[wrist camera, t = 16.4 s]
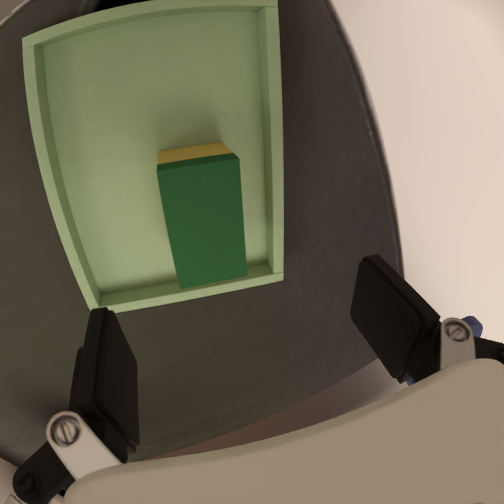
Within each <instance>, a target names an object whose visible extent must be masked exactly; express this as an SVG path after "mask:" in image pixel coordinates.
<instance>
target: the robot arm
mask: <svg viewBox="0 0 504 504" xmlns="http://www.w3.org/2000/svg"><path fill="white" fill-rule="evenodd" d="M350 316H351V319H352V321H353V322H354V324H355V325H356V326H357V328H358V329H359V331H360V332H361V333H362V335H363V336H364V338H365V339H366V340H367V342H368V343H369V345H370V346H371V348H372V349H373V350H374V352H375V353H376V355H377V356H378V358H379V359H380V360H381V362H382V363H383V365H384V366H385V368H386V369H387V370H388V372H389V373H390V375H391V376H392V377H393V378H396V379H397V380H398V382H399V383H400V384H401V383H403V382H405V381H407V380H409V379H410V378H412V379H413V381H414V384H413V385H411V386H408V387H406V388H404V389H402V390H400V391H398V392H396V393H394V394H392V395H389V396H387V397H385V398H383V399H381V400H378V401H376V402H374V403H371V404H369V405H366V406H364V407H361V408H359V409H357V410H354V411H351V412H349V413H346V414H344V415H341V416H338V417H336V418H333V419H330V420H327V421H324V422H321V423H318V424H315V425H312V426H310V427H306V428H303V429H300V430H297V431H293V432H290V433H286V434H283V435H280V436H276V437H272V438H269V439H264V440H261V441H257V442H252V443H248V444H244V445H239V446H235V447H230V448H226V449H220V450H215V451H209V452H203V453H198V454H191V455H185V456H179V457H171V458H163V459H154V460H148V461H139V462H131V463H127V462H126V461H127V460H128V455H127V454H129V453H136V445H139V444H140V437H139V420H138V391H137V362H136V359H135V357H134V355H133V353H132V351H131V349H130V346H129V344H128V342H127V340H126V338H125V336H124V334H123V331H122V329H121V327H120V325H119V322H118V320H117V318H116V315H115V313H114V311H113V310H109V309H108V308H107V307H102V308H95V309H92V310H91V312H90V317H89V321H88V326H87V331H86V336H85V341H84V346H83V347H80V348H79V349H78V352H77V357H76V362H75V368H74V374H73V380H72V387H71V394H70V402H69V410H68V411H62V412H59V413H57V414H55V415H54V416H53V417H52V418H51V419H50V421H49V423H48V424H47V428H46V436H47V439H48V441H47V442H46V443H45V444H44V445H43V446H42V447H41V448H40V449H38V450H37V451H36V452H35V453H34V454H33V455H32V456H31V457H30V458H29V459H28V460H27V461H26V462H25V463H24V464H22V465H21V466H20V467H19V468H18V469H17V471H16V472H15V474H14V477H13V489H14V491H15V492H14V495H9V496H8V499H7V500H6V502H5V504H504V344H503V343H499V342H495V341H491V340H487V339H483V338H480V337H476V336H473V331H472V329H471V327H470V326H469V325H468V324H467V323H466V322H465V321H463V320H461V319H458V318H447V319H445V320H444V321H443V322H442V323H441V322H440V321H439V319H440V316H439V315H438V313H437V312H435V310H434V309H433V308H432V307H431V306H430V305H429V304H428V303H427V302H426V301H425V300H424V299H423V298H422V297H421V296H420V295H419V294H418V293H417V292H416V291H415V290H414V289H413V288H412V287H411V286H410V285H409V284H408V283H407V282H406V281H405V280H404V279H403V278H402V277H401V276H400V275H399V274H398V273H397V272H396V271H395V270H394V269H393V268H392V267H391V266H390V265H389V264H388V263H387V262H386V261H384V260H383V259H382V258H381V257H380V256H379V255H377V254H375V255H371V256H367V257H364V258H363V259H362V261H361V262H360V263H359V268H358V274H357V280H356V285H355V291H354V296H353V301H352V306H351V311H350Z"/></svg>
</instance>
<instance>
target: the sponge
mask: <svg viewBox="0 0 504 504" xmlns="http://www.w3.org/2000/svg"><path fill="white" fill-rule="evenodd" d="M156 172H157V178H158V184H159V190H160V196H161V201H162V207H163V212H164V217H165V222H166V227H167V232H168V237H169V242H170V247H171V252H172V256H173V261H174V265H175V270H176V274H177V278H178V283H179V287H180V289H185V288H190V287H195V286H200V285H205V284H210V283H215V282H220V281H225V280H230V279H235V278H240V277H245V276H247V262H246V248H245V233H244V218H243V203H242V189H241V173H240V159H239V158H238V157H237V156H236V155H235V154H234V153H233V152H232V151H231V150H230V149H229V148H228V147H227V146H226V145H225V144H224V143H223V142H217V143H210V144H203V145H196V146H189V147H183V148H177V149H171V150H165V151H159V152H158V161H157V171H156Z"/></svg>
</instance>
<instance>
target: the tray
mask: <svg viewBox="0 0 504 504" xmlns="http://www.w3.org/2000/svg"><path fill="white" fill-rule="evenodd" d="M22 43H23V65H24V77H25V88H26V96H27V104H28V111H29V117H30V123H31V129H32V135H33V140H34V145H35V150H36V154H37V159H38V163H39V167H40V171H41V175H42V179H43V183H44V187H45V191H46V194H47V198H48V201H49V204H50V208H51V211H52V214H53V217H54V220H55V224H56V227H57V229H58V232H59V235H60V238H61V241H62V244H63V247H64V249H65V252H66V255H67V257H68V260H69V262H70V265H71V267H72V270H73V272H74V275H75V277H76V280H77V282H78V284H79V287H80V289H81V291H82V294H83V296H84V298H85V300H86V302H87V305H88V307H89V308H90V311H91V310H92V309H95V308H102V307H107V308H108V309H109V310H113V311H114V313H117V312H123V311H129V310H135V309H140V308H146V307H152V306H157V305H163V304H168V303H173V302H179V301H184V300H189V299H194V298H199V297H204V296H210V295H215V294H220V293H225V292H229V291H234V290H239V289H244V288H249V287H254V286H258V285H263V284H268V283H272V282H277V281H281V280H283V259H284V169H283V115H282V83H281V57H280V36H279V17H278V0H151V1H145V2H139V3H134V4H129V5H124V6H119V7H115V8H110V9H106V10H102V11H98V12H95V13H91V14H87V15H84V16H81V17H77V18H74V19H71V20H68V21H65V22H62V23H59V24H56V25H53V26H51V27H48V28H45V29H43V30H40V31H38V32H35V33H33V34H30V35H28V36H26V37H24V38H23V39H22ZM217 142H223V143H224V144H225V145H226V146H227V147H228V148H229V149H230V150H231V151H232V152H233V153H234V154H235V155H236V156H237V157H238V158H239V159H240V173H241V189H242V203H243V218H244V233H245V248H246V262H247V276H245V277H240V278H235V279H230V280H225V281H220V282H215V283H210V284H205V285H200V286H195V287H190V288H185V289H180V287H179V283H178V278H177V274H176V270H175V265H174V261H173V256H172V252H171V247H170V242H169V237H168V232H167V227H166V222H165V217H164V212H163V207H162V201H161V196H160V190H159V184H158V178H157V172H156V171H157V161H158V152H159V151H165V150H171V149H177V148H183V147H189V146H196V145H203V144H210V143H217Z"/></svg>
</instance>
